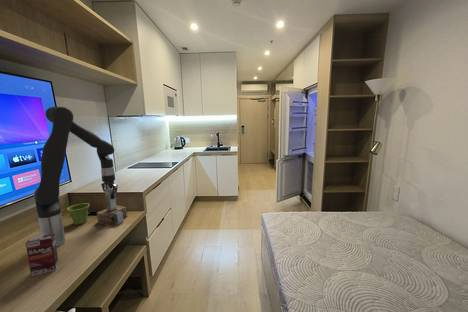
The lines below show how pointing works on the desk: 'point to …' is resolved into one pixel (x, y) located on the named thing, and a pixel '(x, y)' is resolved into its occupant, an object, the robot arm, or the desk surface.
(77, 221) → the plant pot
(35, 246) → the supplement box
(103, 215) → the block with rectangular hole
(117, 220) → the grey rectangular block
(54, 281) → the desk surface
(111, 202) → the tall pin
